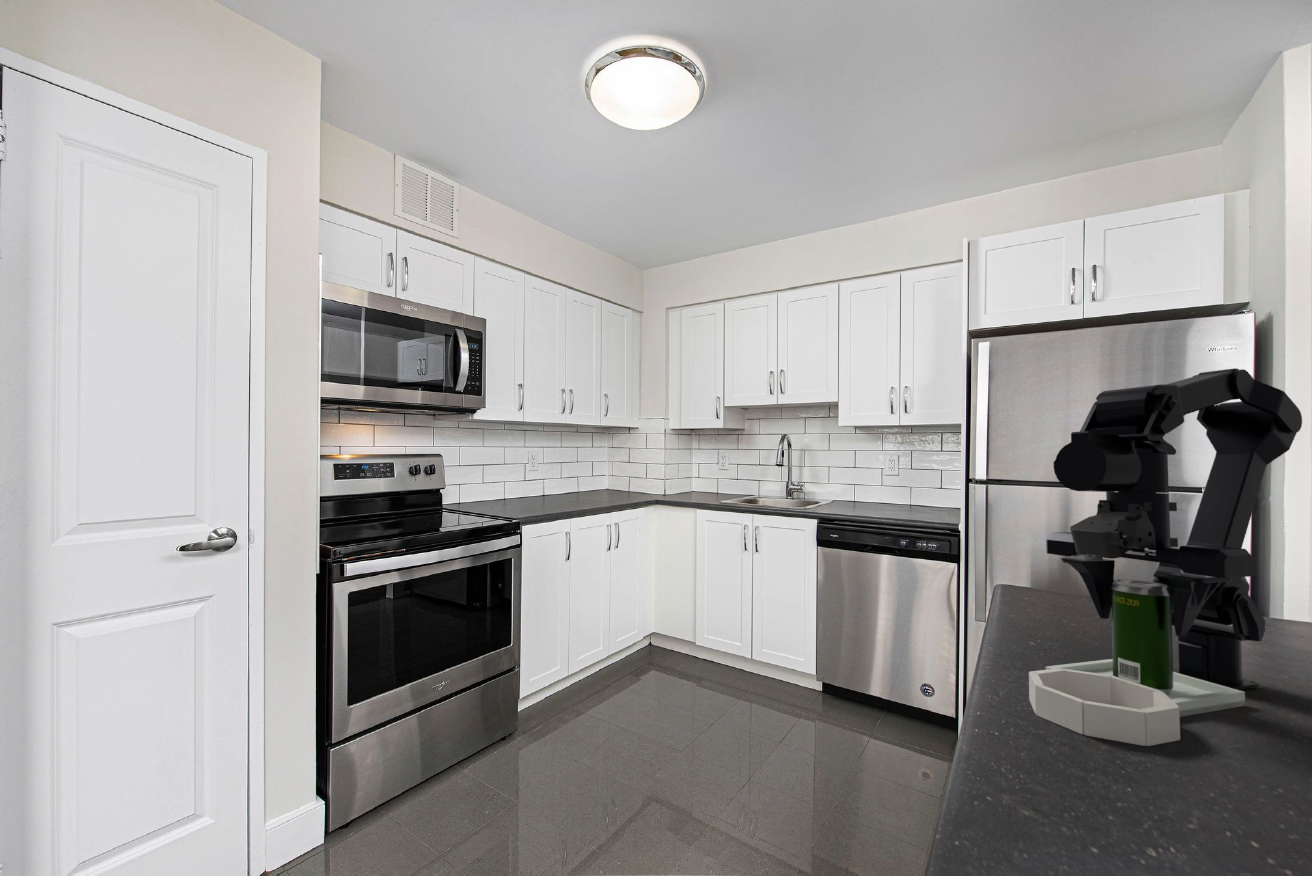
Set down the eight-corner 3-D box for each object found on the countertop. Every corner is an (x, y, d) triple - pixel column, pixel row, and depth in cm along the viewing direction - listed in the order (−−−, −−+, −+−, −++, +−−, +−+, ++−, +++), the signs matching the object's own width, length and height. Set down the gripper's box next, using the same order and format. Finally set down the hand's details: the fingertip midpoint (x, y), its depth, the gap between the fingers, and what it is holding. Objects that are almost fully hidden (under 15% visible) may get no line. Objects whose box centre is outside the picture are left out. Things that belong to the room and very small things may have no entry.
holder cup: (1081, 692, 67) (1080, 665, 67) (1203, 735, 56) (1202, 703, 56) (1006, 702, 63) (1006, 674, 63) (1121, 751, 52) (1120, 716, 52)
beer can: (1163, 699, 63) (1160, 588, 64) (1104, 683, 68) (1102, 580, 69) (1181, 691, 66) (1178, 585, 67) (1124, 677, 71) (1122, 577, 72)
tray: (1123, 669, 76) (1122, 657, 76) (1245, 705, 64) (1244, 691, 64) (1045, 679, 71) (1045, 666, 71) (1161, 720, 59) (1161, 705, 60)
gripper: (1014, 489, 75) (1016, 612, 74) (1186, 495, 57) (1192, 656, 56) (1075, 490, 78) (1077, 607, 77) (1255, 496, 61) (1261, 648, 60)
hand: (1140, 626), depth 67 cm, fingers open, 8 cm apart
